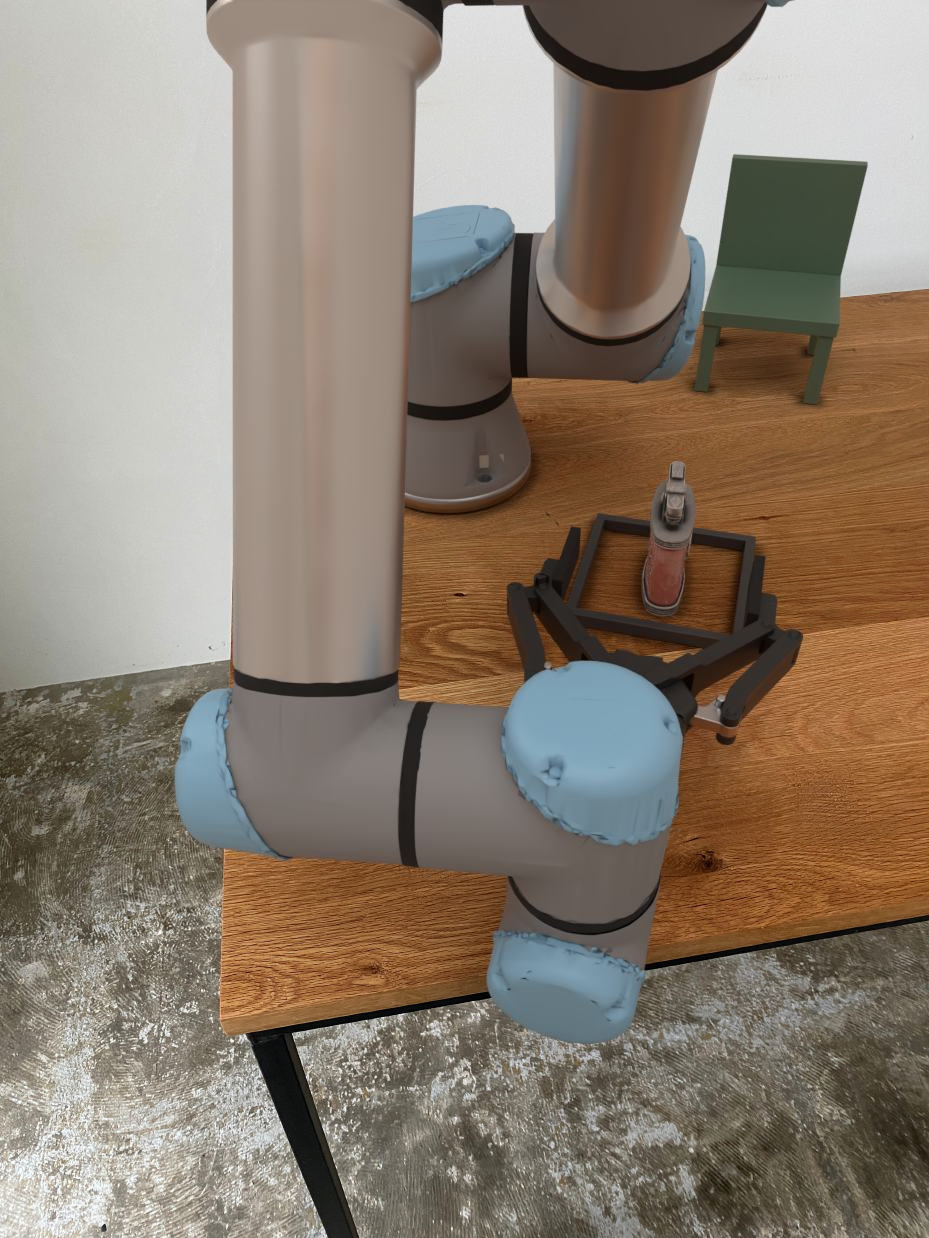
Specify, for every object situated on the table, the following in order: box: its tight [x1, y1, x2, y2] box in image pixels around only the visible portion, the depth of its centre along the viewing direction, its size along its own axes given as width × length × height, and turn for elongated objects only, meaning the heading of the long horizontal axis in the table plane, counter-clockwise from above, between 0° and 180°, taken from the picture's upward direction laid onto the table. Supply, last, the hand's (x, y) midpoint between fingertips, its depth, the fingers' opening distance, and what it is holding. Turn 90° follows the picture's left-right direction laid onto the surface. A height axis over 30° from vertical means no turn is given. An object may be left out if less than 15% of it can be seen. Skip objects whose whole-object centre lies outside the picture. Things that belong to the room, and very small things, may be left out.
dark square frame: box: [566, 512, 757, 649], centre depth 77 cm, size 14×14×1 cm
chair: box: [694, 153, 869, 406], centre depth 96 cm, size 13×13×20 cm
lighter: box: [641, 460, 697, 617], centre depth 74 cm, size 8×3×10 cm, turn 168°
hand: (664, 554), depth 70 cm, fingers open, 13 cm apart
